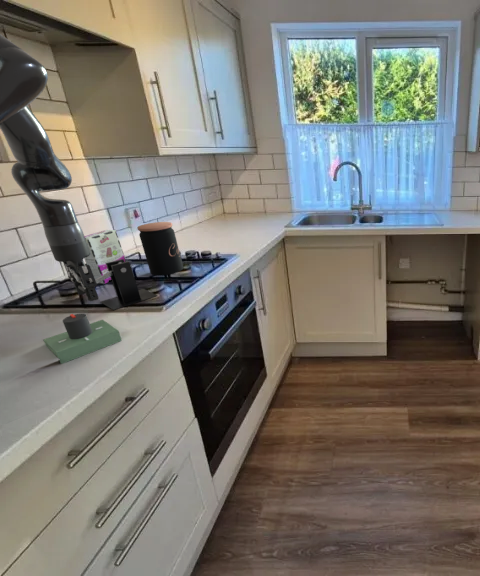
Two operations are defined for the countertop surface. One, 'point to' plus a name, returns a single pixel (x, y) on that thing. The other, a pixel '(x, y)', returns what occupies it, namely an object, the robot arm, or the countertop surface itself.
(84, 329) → the knob
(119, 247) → the candy bar box
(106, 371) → the countertop surface
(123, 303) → the bracket
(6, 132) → the robot arm
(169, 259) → the coffee jar
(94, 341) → the panel
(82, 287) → the press lever
